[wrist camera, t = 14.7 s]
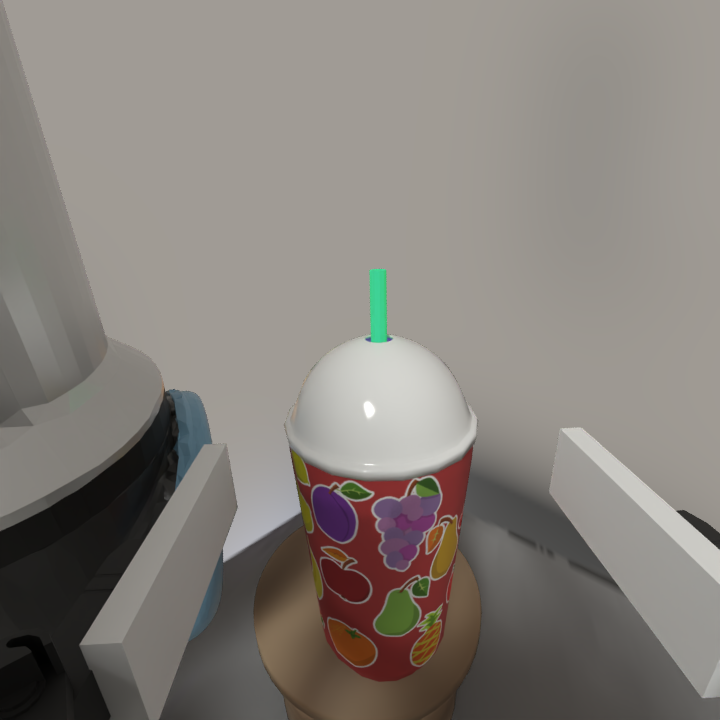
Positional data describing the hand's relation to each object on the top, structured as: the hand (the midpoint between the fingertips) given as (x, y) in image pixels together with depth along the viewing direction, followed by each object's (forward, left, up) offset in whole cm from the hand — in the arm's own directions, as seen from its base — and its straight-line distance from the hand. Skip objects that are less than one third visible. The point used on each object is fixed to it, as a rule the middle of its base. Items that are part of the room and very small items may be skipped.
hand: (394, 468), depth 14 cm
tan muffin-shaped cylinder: (-3, +6, -22) cm, 23 cm away
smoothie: (-1, +3, -14) cm, 14 cm away
